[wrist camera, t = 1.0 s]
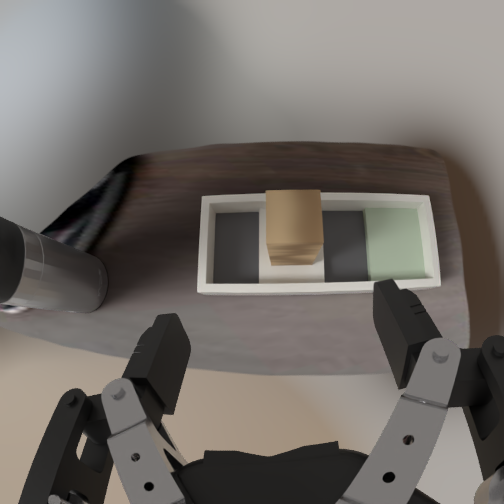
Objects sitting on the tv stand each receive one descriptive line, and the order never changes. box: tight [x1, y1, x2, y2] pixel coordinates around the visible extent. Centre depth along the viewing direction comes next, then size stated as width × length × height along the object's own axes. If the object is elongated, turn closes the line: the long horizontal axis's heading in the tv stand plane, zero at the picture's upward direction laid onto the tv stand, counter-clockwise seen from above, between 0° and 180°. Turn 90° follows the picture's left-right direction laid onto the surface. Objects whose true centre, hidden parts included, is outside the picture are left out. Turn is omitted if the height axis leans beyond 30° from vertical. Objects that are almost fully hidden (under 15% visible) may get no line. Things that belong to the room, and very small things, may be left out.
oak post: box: [266, 190, 324, 266], centre depth 31 cm, size 5×5×11 cm
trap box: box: [197, 193, 441, 295], centre depth 36 cm, size 30×12×4 cm, turn 90°
